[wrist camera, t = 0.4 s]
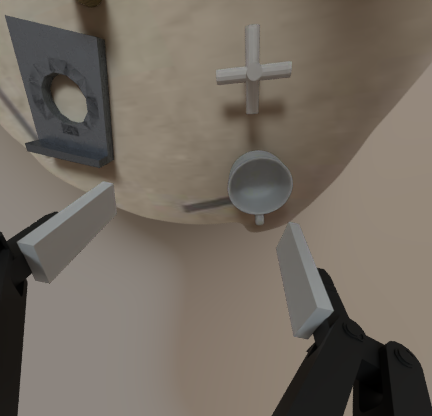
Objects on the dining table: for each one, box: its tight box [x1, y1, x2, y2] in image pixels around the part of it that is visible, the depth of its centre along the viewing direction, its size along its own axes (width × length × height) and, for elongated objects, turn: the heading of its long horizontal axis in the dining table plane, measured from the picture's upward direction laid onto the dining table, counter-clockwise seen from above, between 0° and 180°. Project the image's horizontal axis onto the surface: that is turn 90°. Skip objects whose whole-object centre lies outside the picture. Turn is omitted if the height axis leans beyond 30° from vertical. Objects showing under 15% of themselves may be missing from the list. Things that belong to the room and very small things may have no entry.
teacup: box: [228, 150, 293, 225], centre depth 38 cm, size 14×11×8 cm
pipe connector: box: [216, 24, 292, 114], centre depth 28 cm, size 10×10×10 cm
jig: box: [5, 15, 114, 168], centre depth 35 cm, size 20×14×5 cm
